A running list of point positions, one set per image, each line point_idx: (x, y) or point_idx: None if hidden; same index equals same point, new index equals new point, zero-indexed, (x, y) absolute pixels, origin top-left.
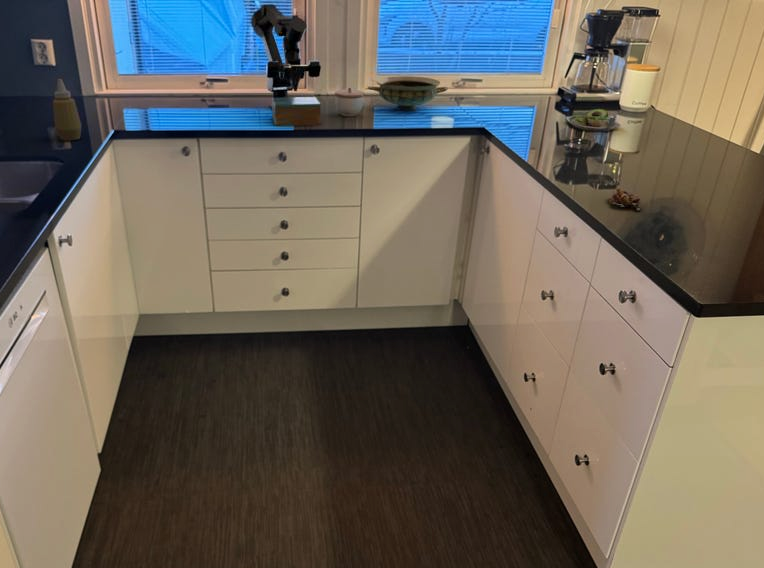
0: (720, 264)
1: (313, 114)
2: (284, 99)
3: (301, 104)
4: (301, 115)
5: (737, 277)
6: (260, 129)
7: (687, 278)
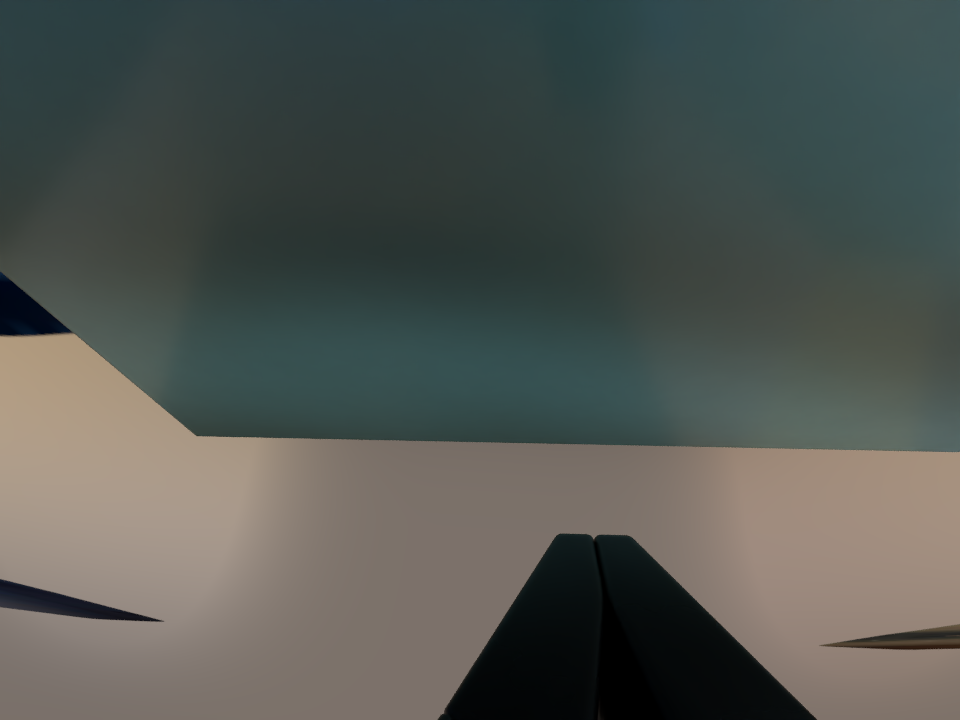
0: (933, 643)
1: None
2: (236, 139)
3: (622, 442)
4: None
5: (911, 645)
6: None
7: (856, 643)
